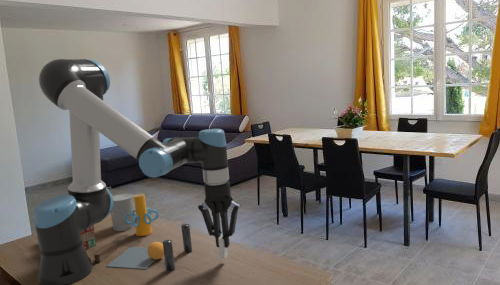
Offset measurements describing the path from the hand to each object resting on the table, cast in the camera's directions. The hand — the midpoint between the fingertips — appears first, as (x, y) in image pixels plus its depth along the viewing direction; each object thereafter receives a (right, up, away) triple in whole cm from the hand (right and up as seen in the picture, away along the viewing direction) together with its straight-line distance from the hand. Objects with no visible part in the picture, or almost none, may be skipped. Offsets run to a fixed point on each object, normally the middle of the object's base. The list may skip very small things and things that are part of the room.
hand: (224, 256), depth 121 cm
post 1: (-16, -4, -1) cm, 16 cm away
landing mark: (-29, -3, +9) cm, 30 cm away
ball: (-22, 0, +6) cm, 23 cm away
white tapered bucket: (-42, +1, +38) cm, 57 cm away
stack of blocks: (-57, -2, +27) cm, 63 cm away
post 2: (-13, -1, +10) cm, 16 cm away
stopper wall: (-40, -3, +12) cm, 42 cm away
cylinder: (-32, 0, +29) cm, 43 cm away
